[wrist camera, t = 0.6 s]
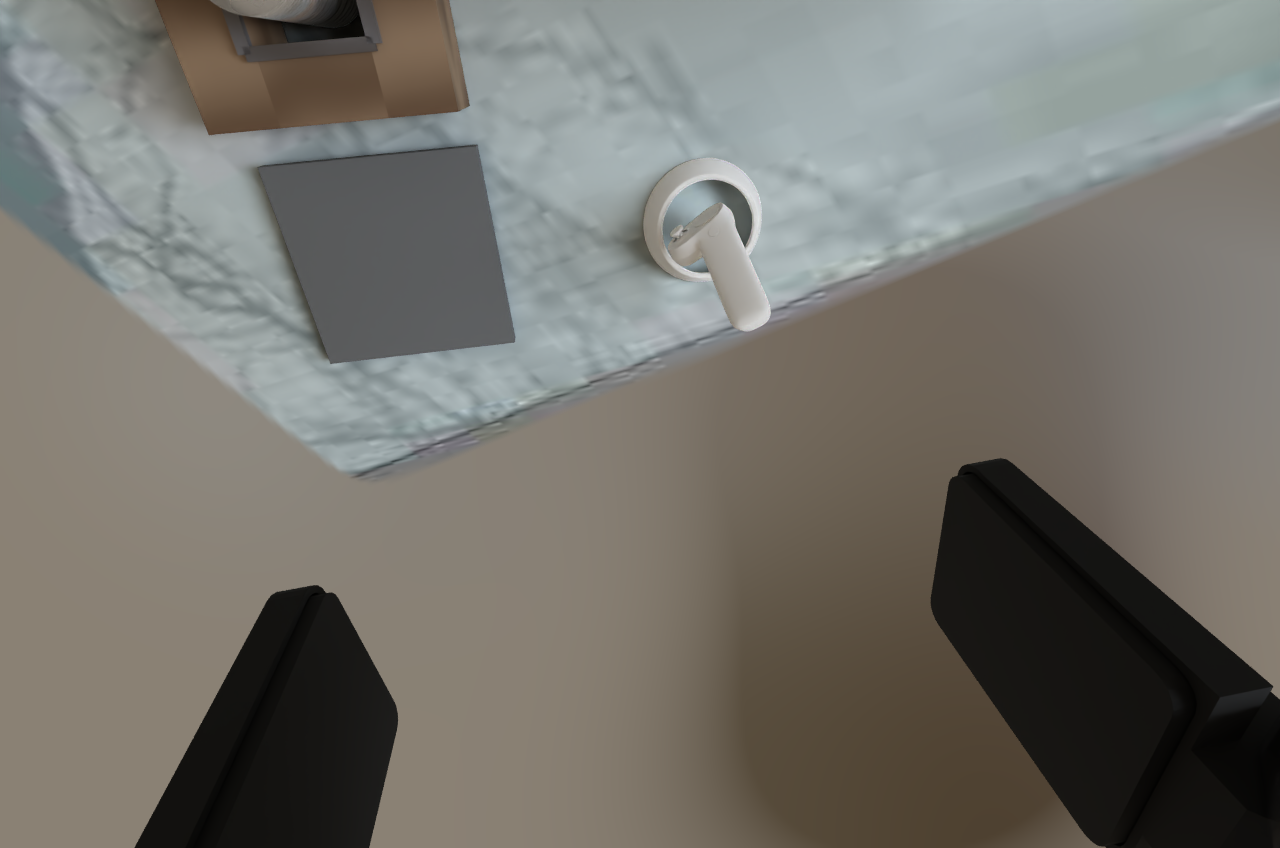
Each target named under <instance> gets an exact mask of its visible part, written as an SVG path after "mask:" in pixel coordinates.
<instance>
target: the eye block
mask: <svg viewBox="0 0 1280 848" xmlns="http://www.w3.org/2000/svg"><path fill="white" fill-rule="evenodd" d="M155 2H156V4H157V7H158V9H159V12H160V14H161V17H162V19H163V22H164V24H165V27H166V29H167V32H168V34H169V37H170V39H171V42H172V44H173V47H174V49H175V52H176V54H177V57H178V59H179V62H180V64H181V67H182V69H183V72H184V74H185V77H186V79H187V82H188V84H189V87H190V89H191V92H192V94H193V97H194V99H195V102H196V104H197V106H198V109H199V111H200V114H201V116H202V119H203V121H204V124H205V126H206V129H207V131H208V134H209V135H214V134H224V133H235V132H246V131H256V130H267V129H278V128H288V127H299V126H309V125H320V124H331V123H341V122H352V121H363V120H373V119H384V118H395V117H405V116H416V115H426V114H437V113H448V112H458V111H460V110H462V109H464V108H466V107H468V106H470V105H469V100H468V94H467V89H466V84H465V79H464V74H463V69H462V64H461V59H460V54H459V49H458V44H457V39H456V33H455V28H454V23H453V18H452V13H451V8H450V3H449V0H356V2H357V6H358V10H359V14H360V18H361V21H362V25H363V29H364V33H365V36H364V37H352V38H341V39H329V40H317V41H306V42H294V43H288V42H287V39H286V36H285V32H284V29H283V26H282V23H281V21H278V20H271V19H264V18H257V17H250V16H243V15H238V14H234V13H231V12H229V11H226V10H224V9H222V8H220V7H219V6H217V5H216V4H214V3H213V2H211V1H210V0H155Z"/></svg>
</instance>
